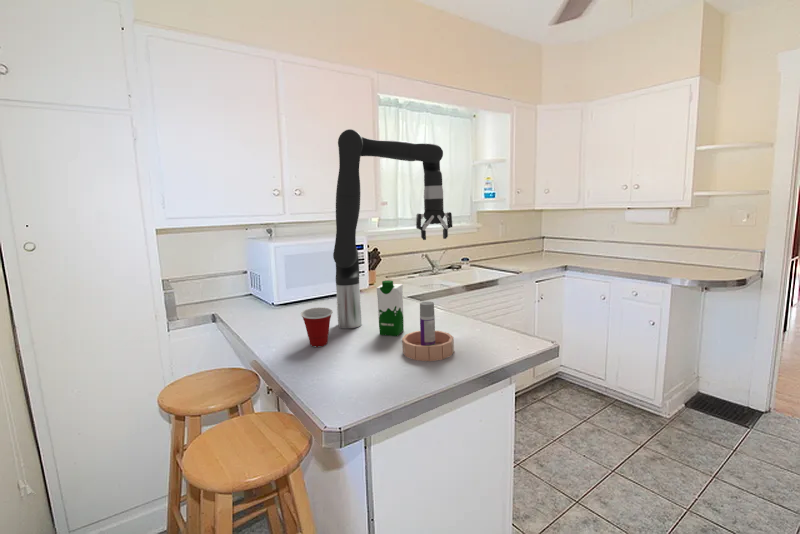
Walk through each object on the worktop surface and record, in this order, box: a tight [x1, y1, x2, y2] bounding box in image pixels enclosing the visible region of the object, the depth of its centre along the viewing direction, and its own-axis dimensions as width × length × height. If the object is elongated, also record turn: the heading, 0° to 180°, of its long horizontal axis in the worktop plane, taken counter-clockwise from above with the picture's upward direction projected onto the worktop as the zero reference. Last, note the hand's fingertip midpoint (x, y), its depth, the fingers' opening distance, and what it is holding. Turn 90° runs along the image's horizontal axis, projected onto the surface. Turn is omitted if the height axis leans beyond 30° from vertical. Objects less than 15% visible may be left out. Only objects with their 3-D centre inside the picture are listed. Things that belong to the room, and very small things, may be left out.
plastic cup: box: [300, 307, 333, 348], centre depth 140 cm, size 11×11×12 cm
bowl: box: [401, 330, 455, 362], centre depth 130 cm, size 16×16×4 cm
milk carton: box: [376, 279, 405, 337], centre depth 149 cm, size 9×9×20 cm
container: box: [419, 301, 436, 346], centre depth 129 cm, size 5×5×15 cm
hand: (434, 239), depth 160 cm, fingers open, 8 cm apart
